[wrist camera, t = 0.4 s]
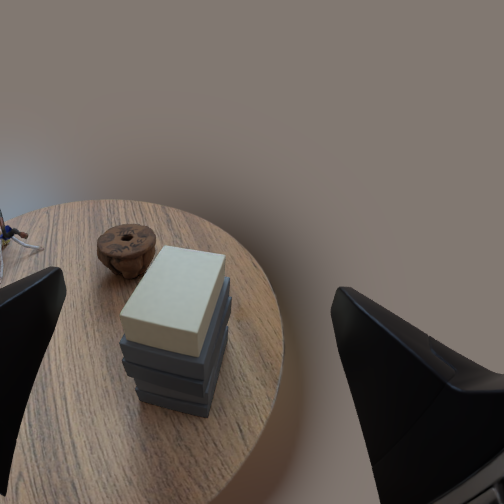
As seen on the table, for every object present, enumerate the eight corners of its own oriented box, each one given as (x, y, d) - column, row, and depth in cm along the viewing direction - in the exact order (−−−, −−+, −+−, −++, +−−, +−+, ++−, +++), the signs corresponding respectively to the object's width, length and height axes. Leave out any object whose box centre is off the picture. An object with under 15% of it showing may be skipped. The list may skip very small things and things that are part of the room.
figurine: (29, 262, 44) (62, 284, 33) (-10, 267, 37) (5, 293, 26) (28, 207, 43) (60, 206, 32) (-12, 209, 35) (1, 207, 25)
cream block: (198, 358, 17) (197, 333, 16) (126, 340, 18) (118, 314, 16) (224, 279, 24) (225, 254, 23) (166, 269, 24) (164, 244, 23)
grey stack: (209, 420, 21) (206, 369, 17) (137, 402, 21) (113, 345, 17) (229, 338, 29) (233, 276, 24) (169, 326, 29) (161, 263, 25)
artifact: (99, 260, 37) (93, 228, 34) (150, 249, 40) (148, 217, 38) (106, 296, 31) (97, 261, 29) (165, 282, 35) (162, 247, 32)
